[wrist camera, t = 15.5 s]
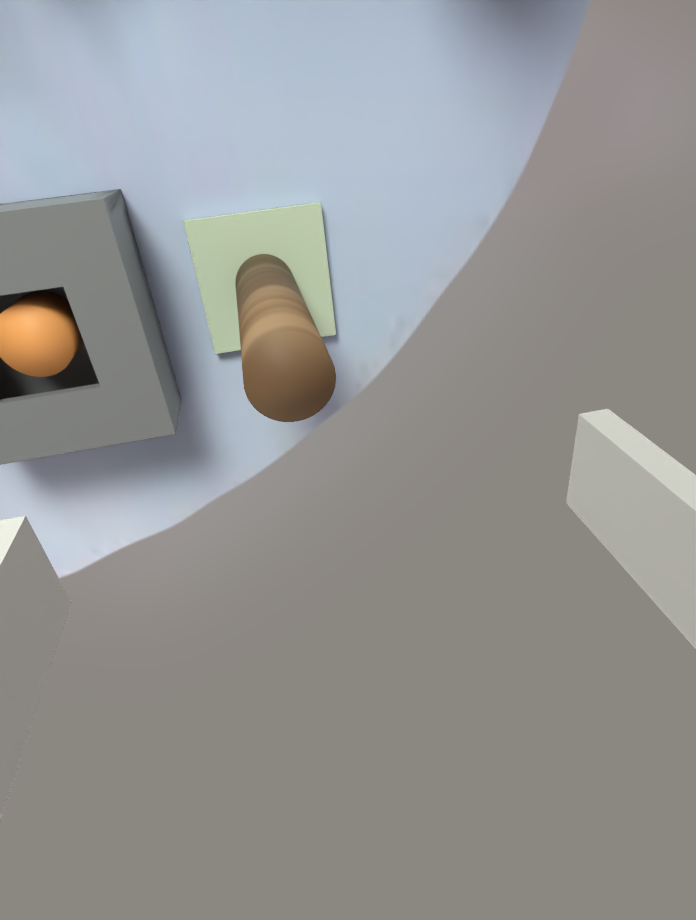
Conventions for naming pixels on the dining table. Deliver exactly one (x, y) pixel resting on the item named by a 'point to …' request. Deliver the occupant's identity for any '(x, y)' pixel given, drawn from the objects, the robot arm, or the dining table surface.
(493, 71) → the dining table surface
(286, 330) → the walnut dowel
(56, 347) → the button
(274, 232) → the mat
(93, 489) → the dining table surface
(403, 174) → the dining table surface
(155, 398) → the grey square holder
